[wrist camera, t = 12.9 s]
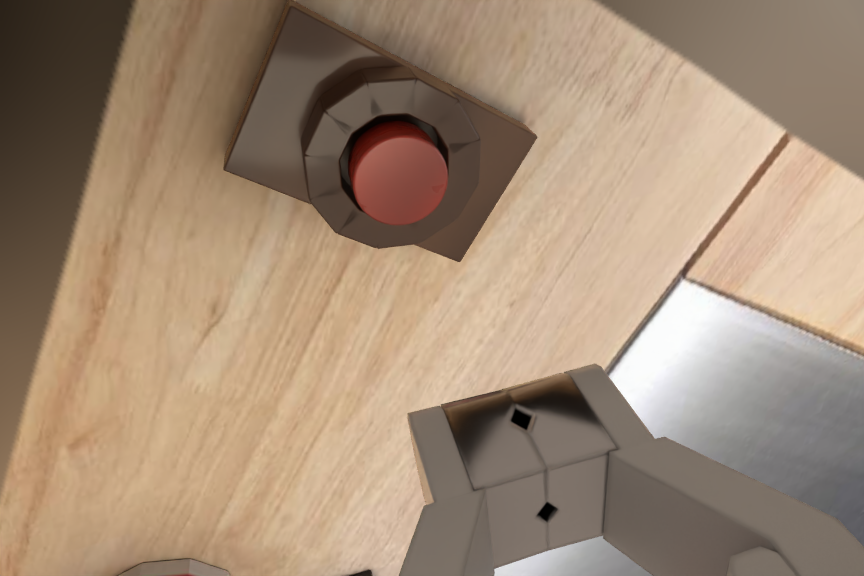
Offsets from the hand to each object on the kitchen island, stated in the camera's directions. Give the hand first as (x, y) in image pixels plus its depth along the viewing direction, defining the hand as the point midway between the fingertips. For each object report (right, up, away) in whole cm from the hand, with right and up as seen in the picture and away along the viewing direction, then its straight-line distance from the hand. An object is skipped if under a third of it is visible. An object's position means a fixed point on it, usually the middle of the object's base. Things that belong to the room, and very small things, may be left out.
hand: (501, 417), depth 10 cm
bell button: (-2, +6, +12) cm, 14 cm away
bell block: (-3, +8, +14) cm, 16 cm away
